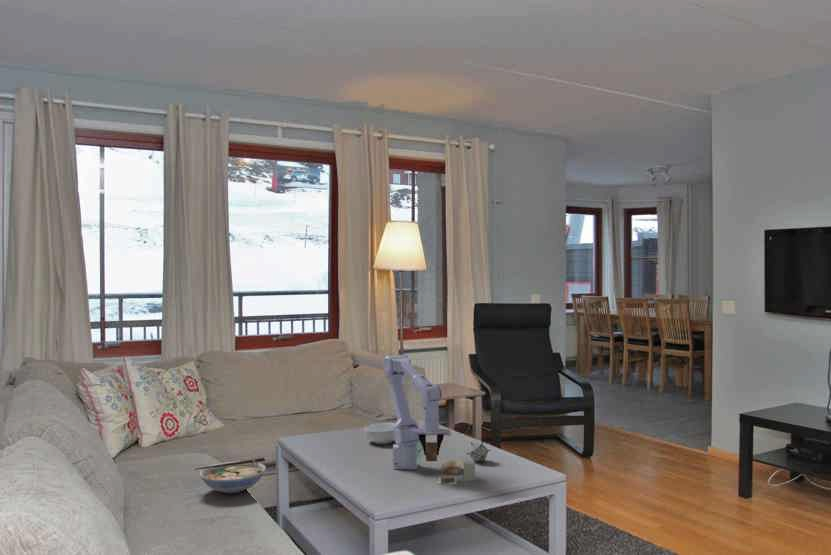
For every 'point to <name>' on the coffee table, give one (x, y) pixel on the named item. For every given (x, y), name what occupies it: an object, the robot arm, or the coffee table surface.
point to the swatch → (447, 480)
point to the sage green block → (469, 470)
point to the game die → (478, 452)
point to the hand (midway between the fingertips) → (431, 454)
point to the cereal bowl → (380, 433)
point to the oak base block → (450, 467)
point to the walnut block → (431, 451)
